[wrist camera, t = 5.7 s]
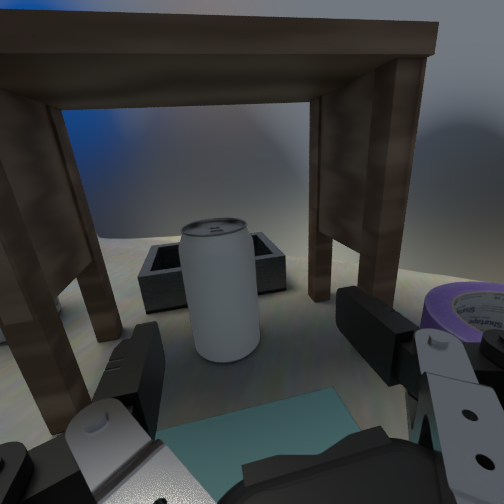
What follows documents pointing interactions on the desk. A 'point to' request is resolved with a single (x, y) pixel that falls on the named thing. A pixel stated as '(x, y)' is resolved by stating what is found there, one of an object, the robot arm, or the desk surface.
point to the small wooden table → (191, 94)
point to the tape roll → (464, 309)
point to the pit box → (171, 279)
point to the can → (220, 288)
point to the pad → (258, 436)
